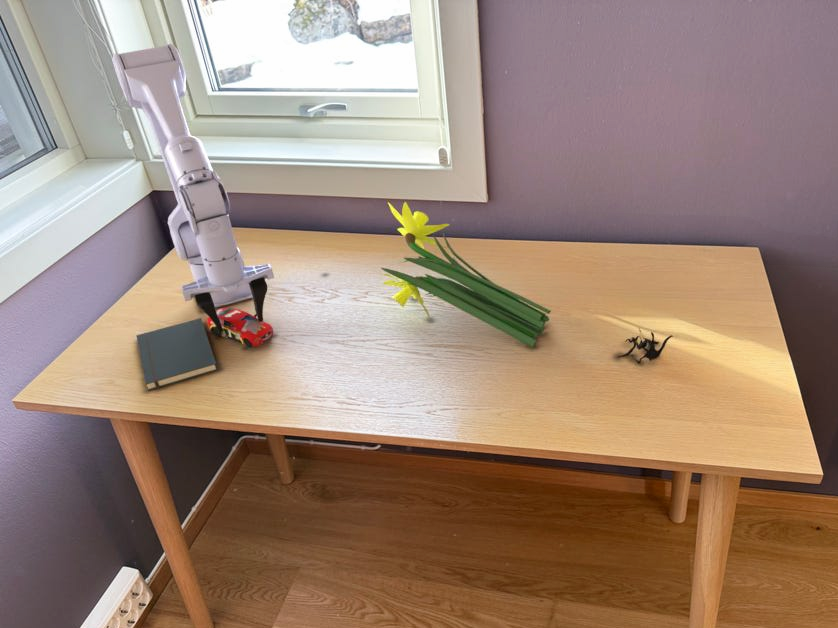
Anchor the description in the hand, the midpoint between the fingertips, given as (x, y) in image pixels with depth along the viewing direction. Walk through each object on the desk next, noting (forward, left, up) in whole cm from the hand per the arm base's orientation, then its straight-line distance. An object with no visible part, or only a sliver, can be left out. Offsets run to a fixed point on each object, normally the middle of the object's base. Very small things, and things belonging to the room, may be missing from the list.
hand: (240, 323), depth 130 cm
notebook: (+11, -1, -3) cm, 12 cm away
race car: (0, -1, -3) cm, 3 cm away
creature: (-56, +37, -3) cm, 67 cm away
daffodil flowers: (-37, +12, -3) cm, 39 cm away
